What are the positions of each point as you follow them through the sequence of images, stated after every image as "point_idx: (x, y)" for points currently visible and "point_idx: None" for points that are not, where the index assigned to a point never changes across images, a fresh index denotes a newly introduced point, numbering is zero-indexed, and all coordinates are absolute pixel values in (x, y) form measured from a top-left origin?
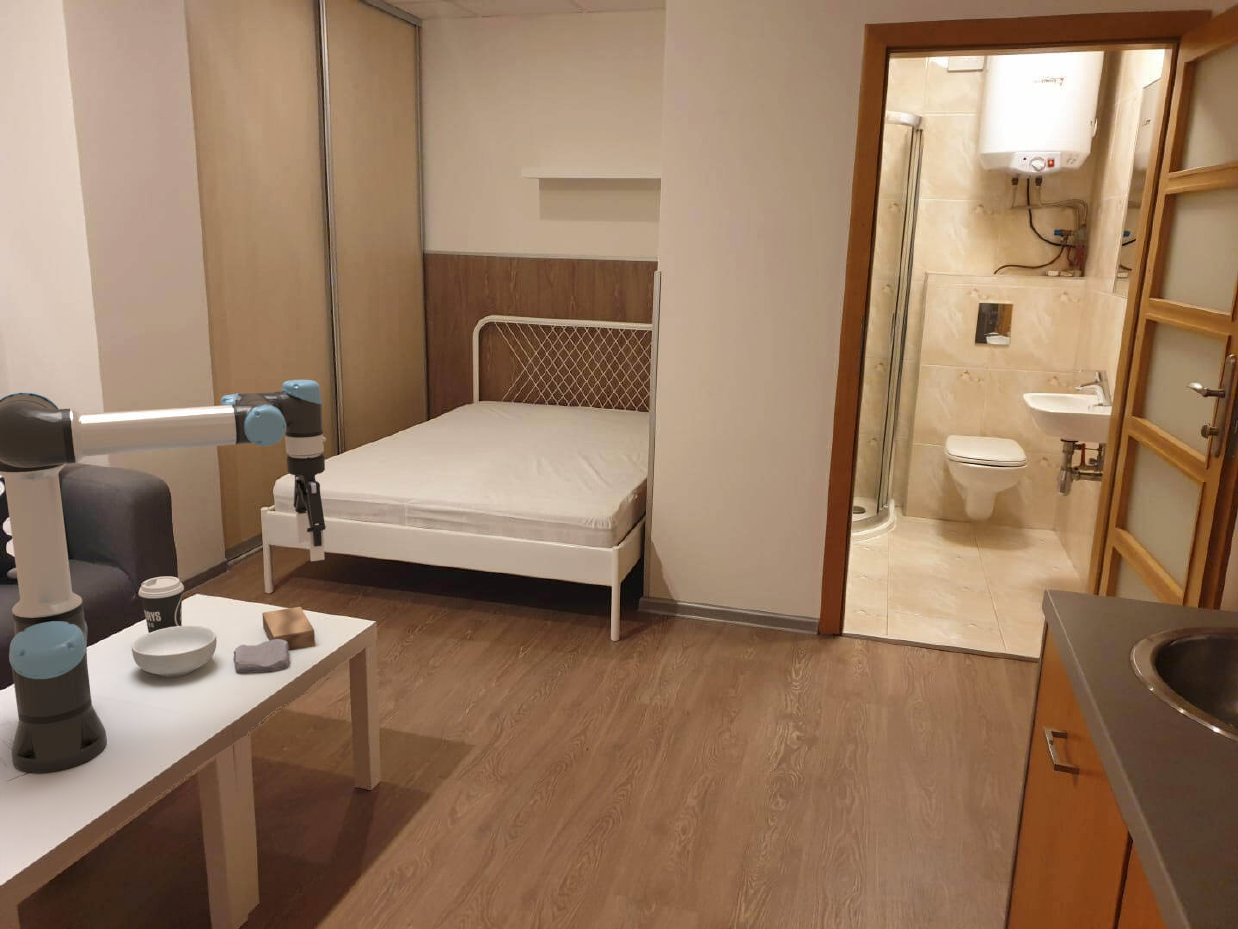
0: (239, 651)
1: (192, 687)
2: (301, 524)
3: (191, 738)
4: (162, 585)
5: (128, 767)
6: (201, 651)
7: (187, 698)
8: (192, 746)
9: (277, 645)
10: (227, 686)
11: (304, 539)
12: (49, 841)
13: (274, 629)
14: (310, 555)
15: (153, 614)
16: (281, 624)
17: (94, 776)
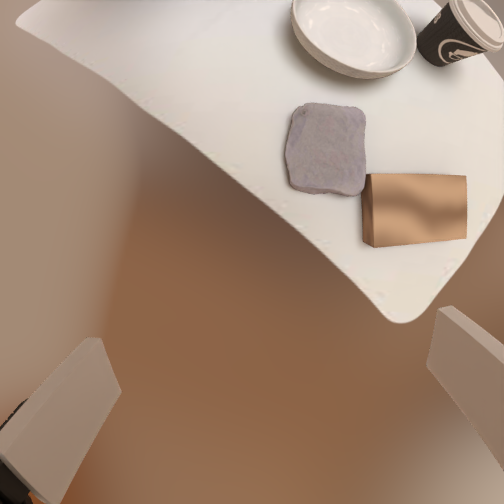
0: (340, 111)
1: (269, 49)
2: (493, 386)
3: (114, 66)
4: (476, 14)
5: (88, 26)
6: (309, 45)
7: (233, 44)
8: (96, 71)
9: (334, 174)
10: (254, 92)
11: (439, 345)
12: (26, 22)
13: (401, 180)
14: (82, 352)
15: (439, 13)
16: (417, 196)
17: (89, 6)
